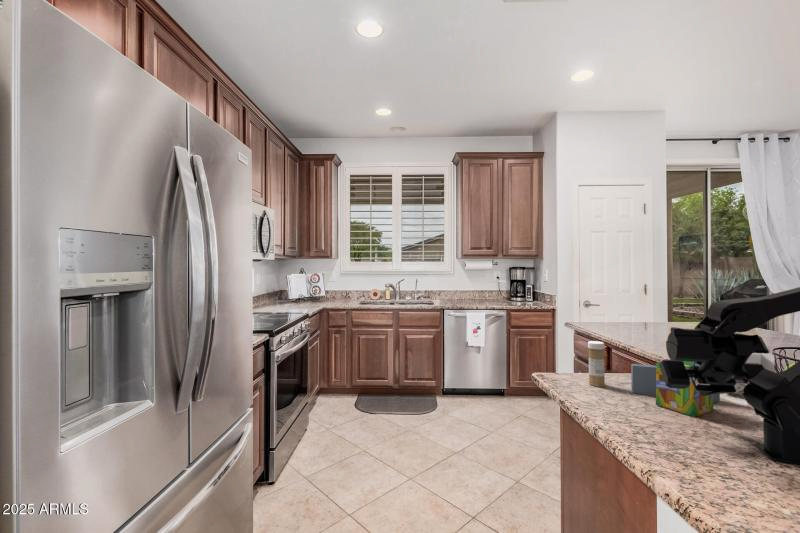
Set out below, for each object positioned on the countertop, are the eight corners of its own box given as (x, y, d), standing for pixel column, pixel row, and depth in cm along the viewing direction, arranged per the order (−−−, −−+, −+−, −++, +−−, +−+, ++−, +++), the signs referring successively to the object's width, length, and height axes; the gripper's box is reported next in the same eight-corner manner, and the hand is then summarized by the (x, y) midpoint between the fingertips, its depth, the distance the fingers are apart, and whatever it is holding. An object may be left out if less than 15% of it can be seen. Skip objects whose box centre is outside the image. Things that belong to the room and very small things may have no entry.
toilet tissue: (707, 376, 122) (707, 346, 122) (748, 378, 120) (748, 347, 120) (731, 386, 111) (730, 354, 111) (776, 388, 109) (776, 355, 109)
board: (719, 402, 98) (719, 372, 98) (633, 393, 106) (632, 365, 106) (716, 399, 100) (715, 370, 100) (631, 390, 108) (631, 363, 108)
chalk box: (654, 405, 97) (654, 349, 97) (675, 400, 100) (674, 346, 101) (695, 418, 88) (694, 357, 88) (715, 411, 92) (714, 353, 92)
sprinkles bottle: (603, 383, 115) (603, 341, 115) (605, 388, 111) (605, 343, 111) (587, 382, 117) (587, 340, 117) (589, 386, 113) (588, 342, 113)
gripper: (762, 326, 78) (734, 365, 88) (661, 324, 83) (645, 361, 93) (791, 373, 70) (756, 410, 80) (677, 368, 75) (658, 403, 86)
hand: (700, 393), depth 85 cm, fingers closed
